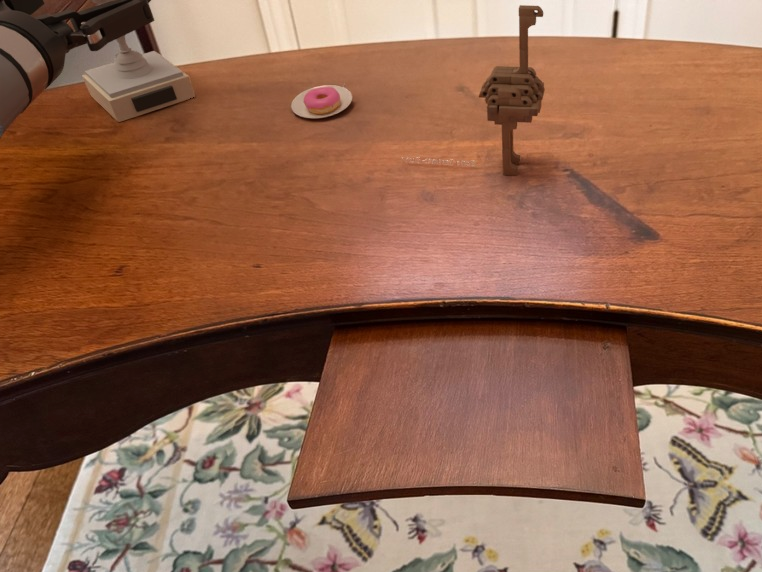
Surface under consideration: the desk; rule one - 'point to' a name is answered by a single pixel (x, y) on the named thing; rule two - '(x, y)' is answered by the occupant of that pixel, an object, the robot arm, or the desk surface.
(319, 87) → the donut
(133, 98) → the scale
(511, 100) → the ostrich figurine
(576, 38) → the desk surface
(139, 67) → the chalice
